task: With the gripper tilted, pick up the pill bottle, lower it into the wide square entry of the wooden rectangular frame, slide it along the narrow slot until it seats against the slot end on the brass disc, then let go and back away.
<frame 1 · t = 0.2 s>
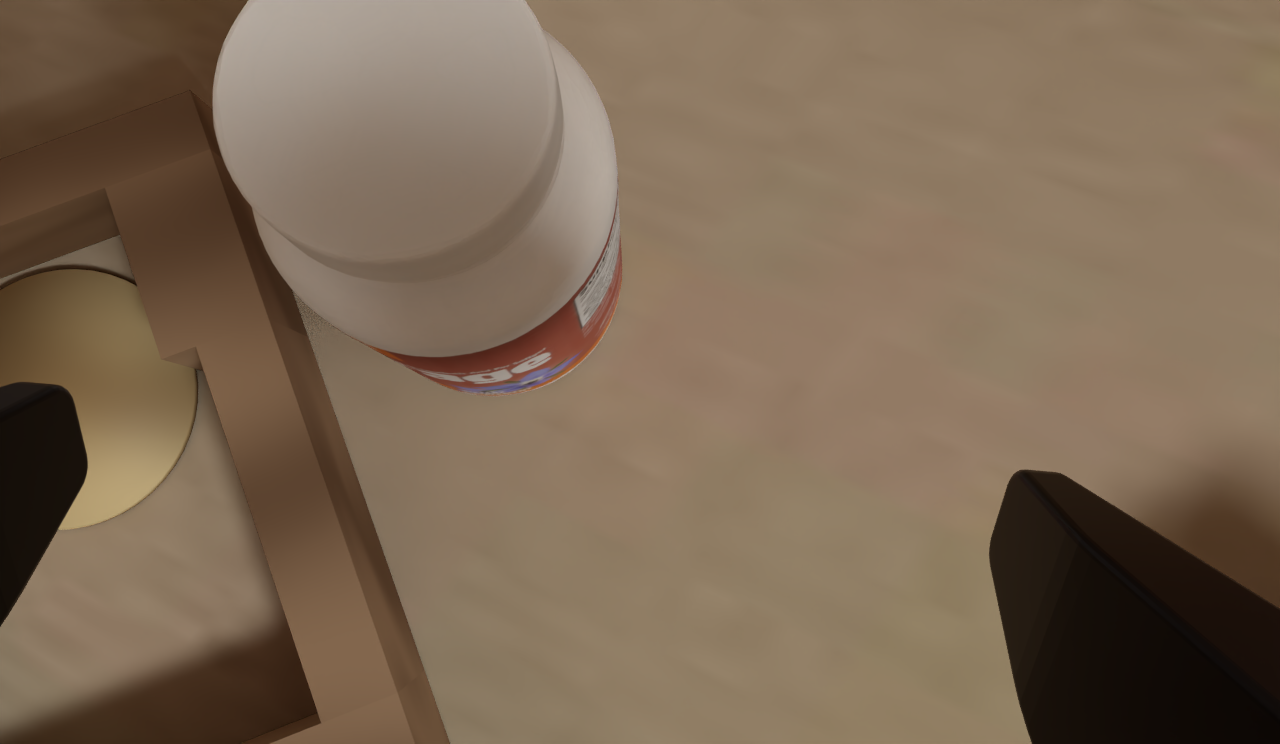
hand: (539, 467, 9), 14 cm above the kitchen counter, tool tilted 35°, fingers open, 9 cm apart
wooden rectangular frame: (104, 513, 23), on the kitchen counter
pill bottle: (502, 278, 24), on the kitchen counter
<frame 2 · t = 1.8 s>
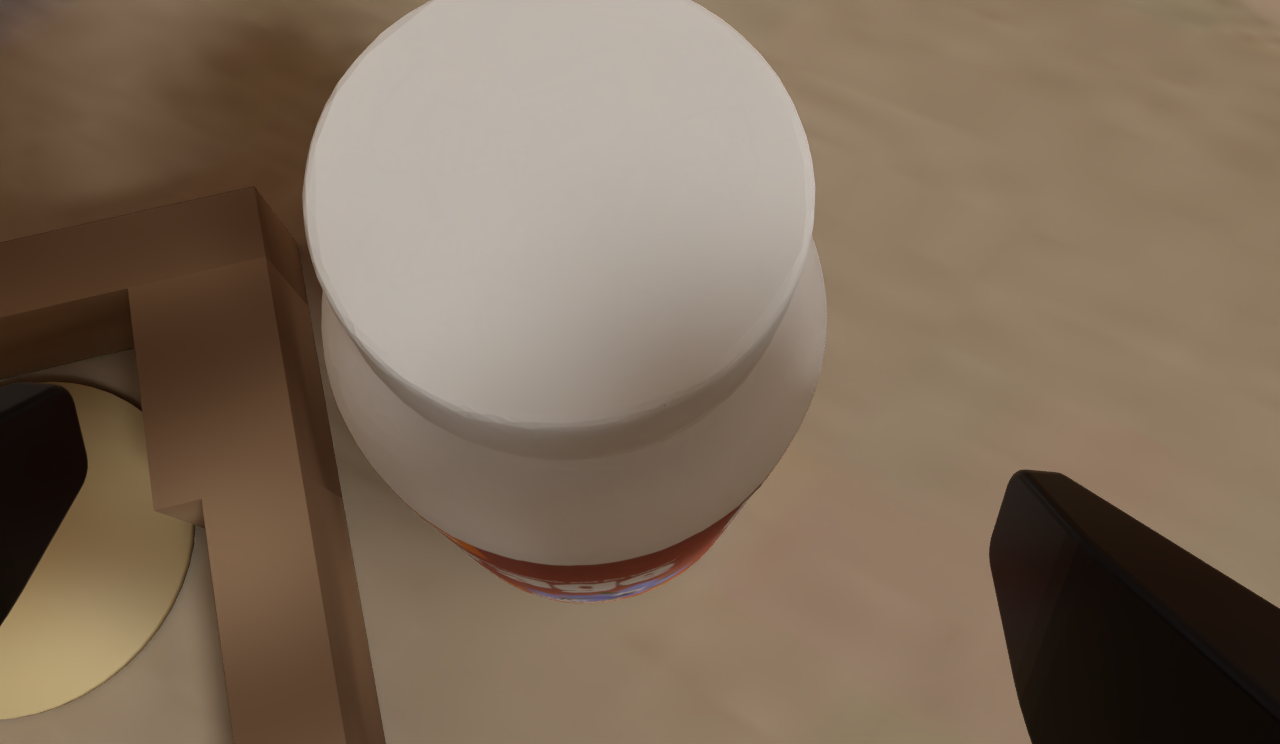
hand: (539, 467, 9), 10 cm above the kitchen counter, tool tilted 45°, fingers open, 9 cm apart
wooden rectangular frame: (38, 702, 17), on the kitchen counter
pill bottle: (592, 452, 19), on the kitchen counter
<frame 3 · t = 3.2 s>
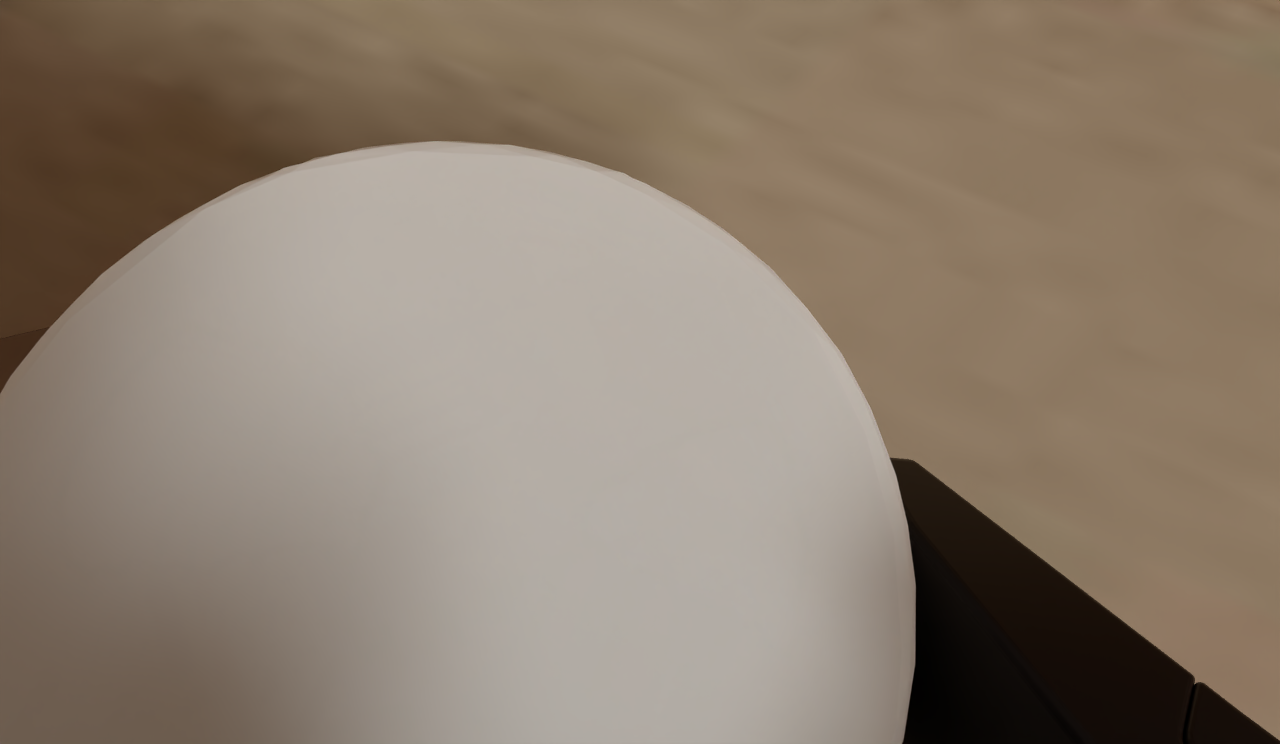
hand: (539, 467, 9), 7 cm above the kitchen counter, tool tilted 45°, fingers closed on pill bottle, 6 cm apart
pill bottle: (562, 635, 15), on the kitchen counter, touching gripper
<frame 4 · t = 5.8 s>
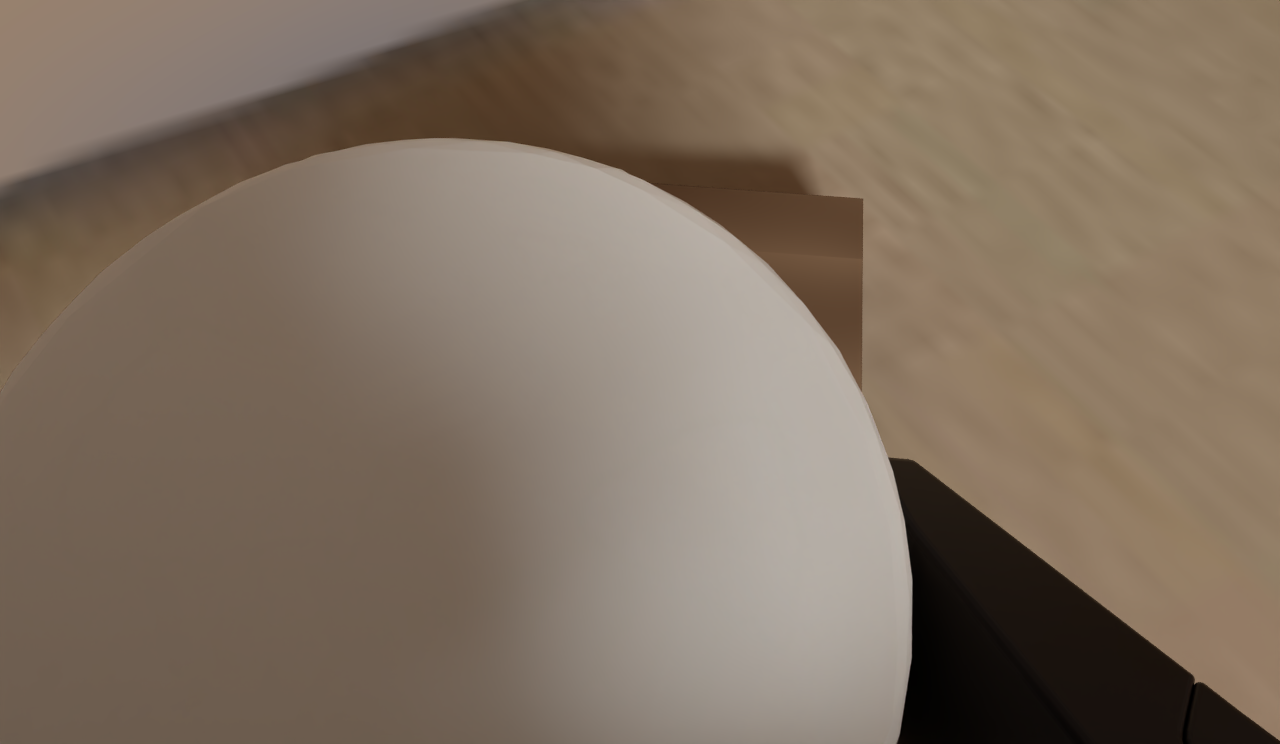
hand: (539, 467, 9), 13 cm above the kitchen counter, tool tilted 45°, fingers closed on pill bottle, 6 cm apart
wooden rectangular frame: (575, 542, 22), on the kitchen counter
pill bottle: (565, 633, 15), point 6 cm above the kitchen counter, touching gripper
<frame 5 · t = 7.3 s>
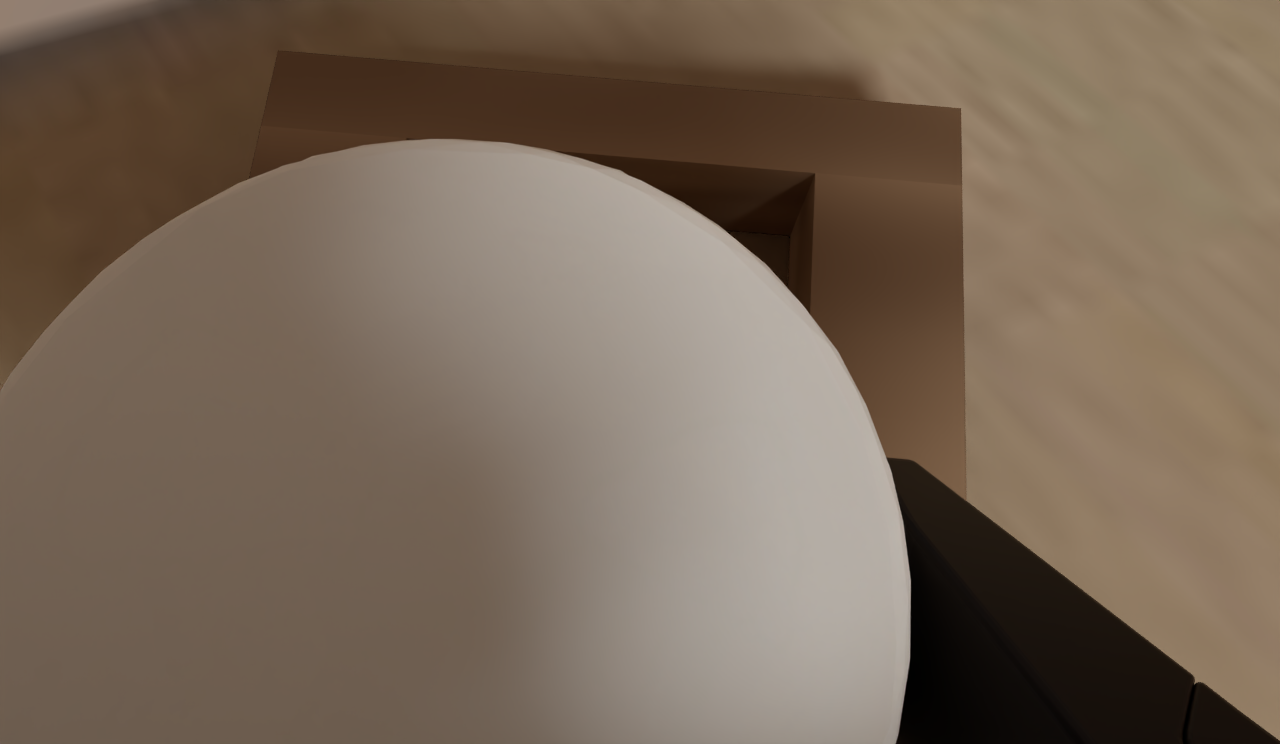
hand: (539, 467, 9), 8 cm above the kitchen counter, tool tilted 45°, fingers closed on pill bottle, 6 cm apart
wooden rectangular frame: (577, 555, 17), on the kitchen counter
pill bottle: (564, 633, 15), point 1 cm above the kitchen counter, touching gripper
when the fingers open (8 cm above the kitchen counter, at t = 8.6 s): pill bottle stays where it is, resting on wooden rectangular frame.
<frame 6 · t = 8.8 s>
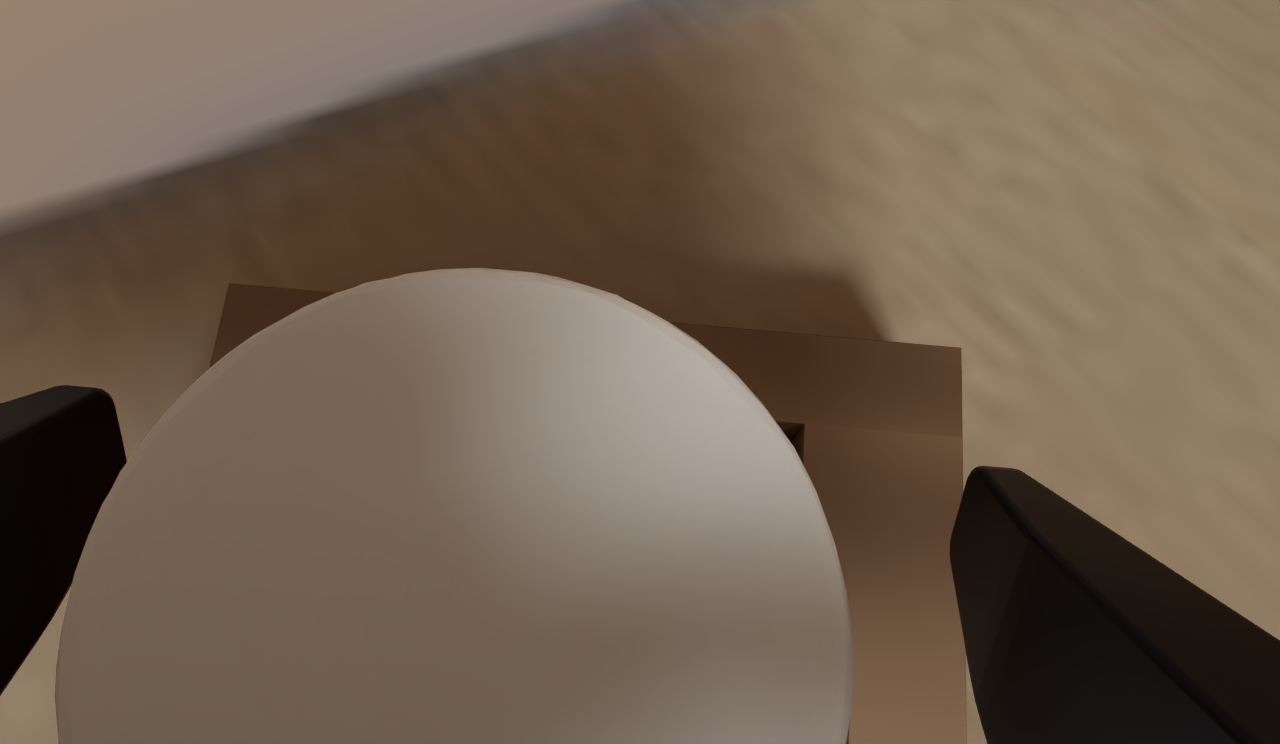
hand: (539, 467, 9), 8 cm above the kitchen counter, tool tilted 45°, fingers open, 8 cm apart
pill bottle: (563, 649, 16), resting on wooden rectangular frame
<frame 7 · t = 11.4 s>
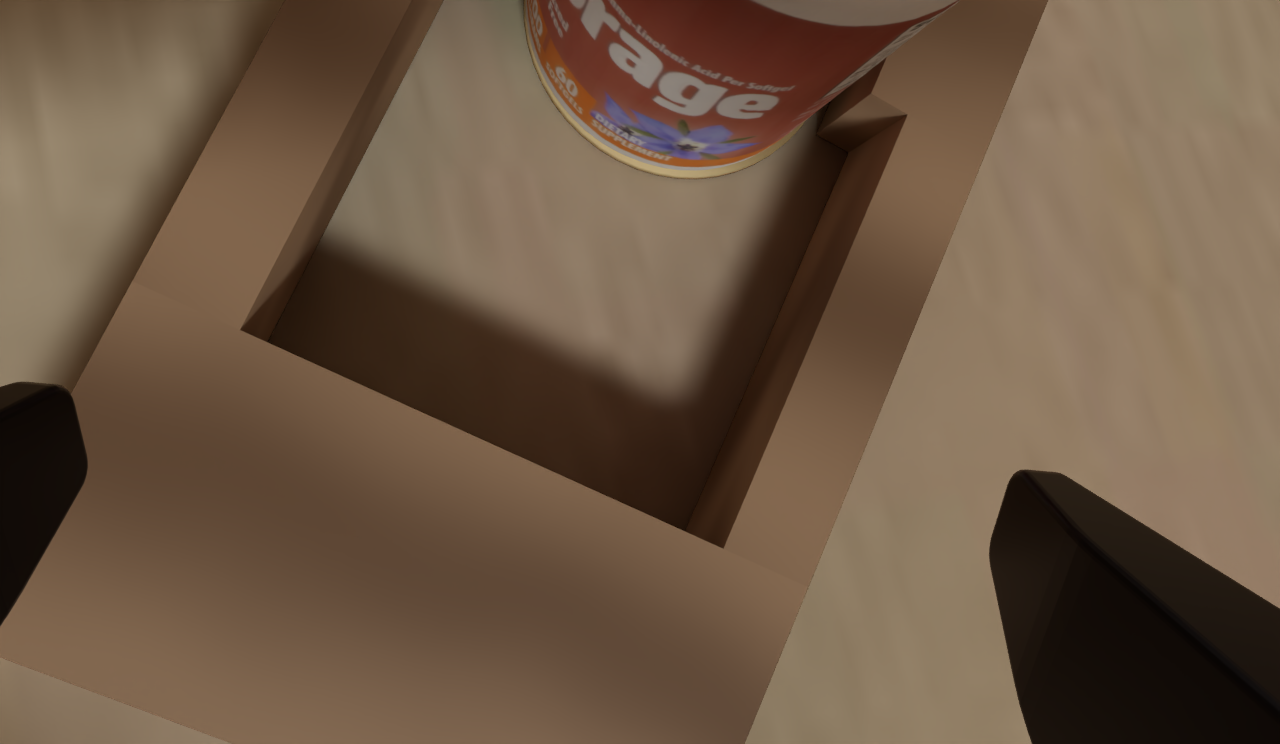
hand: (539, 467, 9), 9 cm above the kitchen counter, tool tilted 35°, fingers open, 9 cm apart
wooden rectangular frame: (621, 151, 19), on the kitchen counter
pill bottle: (674, 31, 19), resting on wooden rectangular frame
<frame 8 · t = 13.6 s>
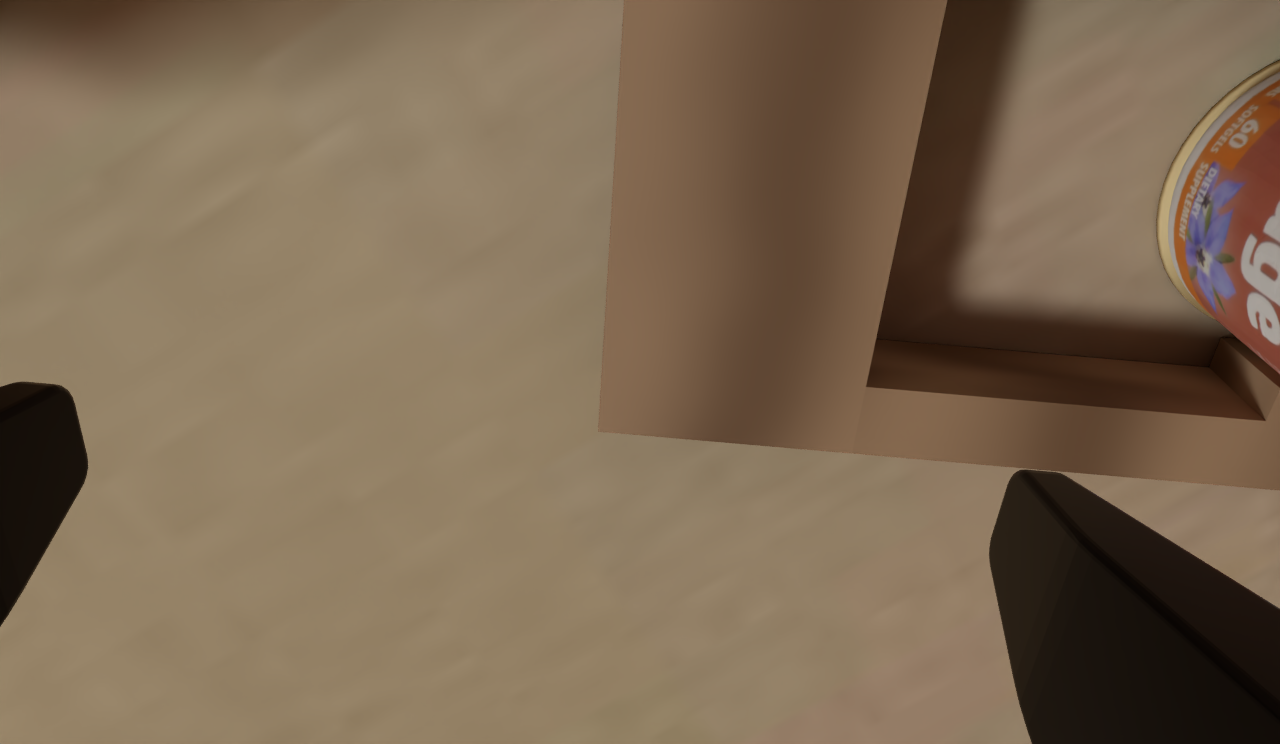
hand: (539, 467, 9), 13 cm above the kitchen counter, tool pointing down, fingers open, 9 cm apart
wooden rectangular frame: (1173, 183, 20), on the kitchen counter
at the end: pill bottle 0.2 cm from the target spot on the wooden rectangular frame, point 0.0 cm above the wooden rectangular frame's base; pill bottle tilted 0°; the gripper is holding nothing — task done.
